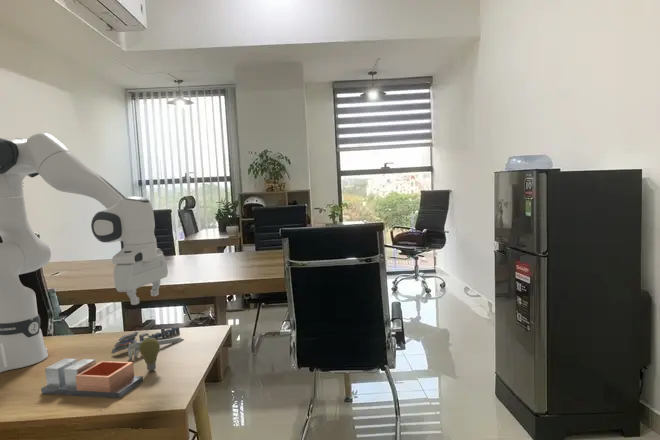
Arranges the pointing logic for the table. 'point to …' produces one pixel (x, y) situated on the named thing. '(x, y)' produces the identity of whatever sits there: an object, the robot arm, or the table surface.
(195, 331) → the table surface
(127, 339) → the block letters
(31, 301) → the robot arm
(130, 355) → the caliper
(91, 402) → the table surface
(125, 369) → the desk organizer
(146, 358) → the light bulb
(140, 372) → the table surface
